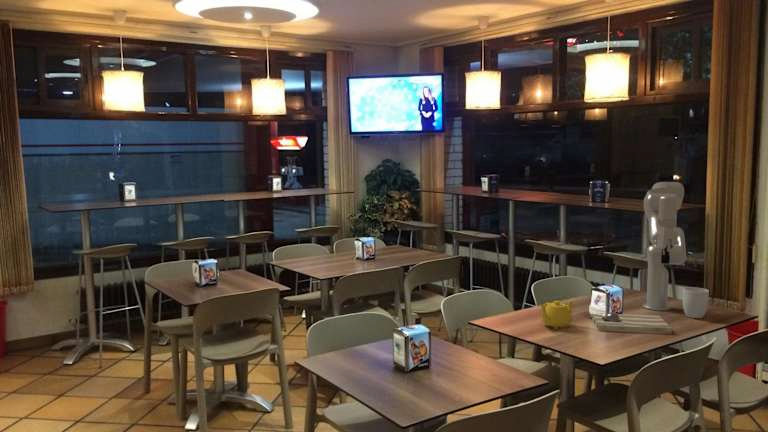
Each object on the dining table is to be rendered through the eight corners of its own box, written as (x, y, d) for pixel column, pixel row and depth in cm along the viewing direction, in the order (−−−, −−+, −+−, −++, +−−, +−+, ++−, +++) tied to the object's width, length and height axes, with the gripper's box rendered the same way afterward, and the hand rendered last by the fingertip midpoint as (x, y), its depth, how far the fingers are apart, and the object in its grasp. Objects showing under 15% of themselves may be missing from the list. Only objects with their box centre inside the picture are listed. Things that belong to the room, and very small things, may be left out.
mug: (692, 311, 317) (693, 284, 316) (715, 315, 309) (717, 288, 307) (677, 316, 308) (678, 289, 306) (700, 321, 299) (702, 293, 298)
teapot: (559, 318, 303) (560, 294, 302) (583, 326, 291) (584, 301, 289) (526, 324, 293) (527, 299, 292) (550, 333, 281) (551, 307, 279)
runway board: (591, 318, 304) (591, 313, 304) (659, 321, 300) (659, 315, 299) (598, 330, 284) (598, 325, 284) (671, 333, 280) (671, 328, 280)
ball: (603, 312, 296) (616, 313, 296) (603, 325, 294) (616, 327, 294) (608, 310, 290) (621, 311, 290) (608, 324, 288) (622, 325, 289)
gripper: (654, 220, 301) (652, 260, 303) (662, 225, 286) (660, 266, 289) (671, 221, 300) (669, 260, 302) (681, 225, 285) (678, 266, 287)
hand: (665, 263), depth 295 cm, fingers closed
